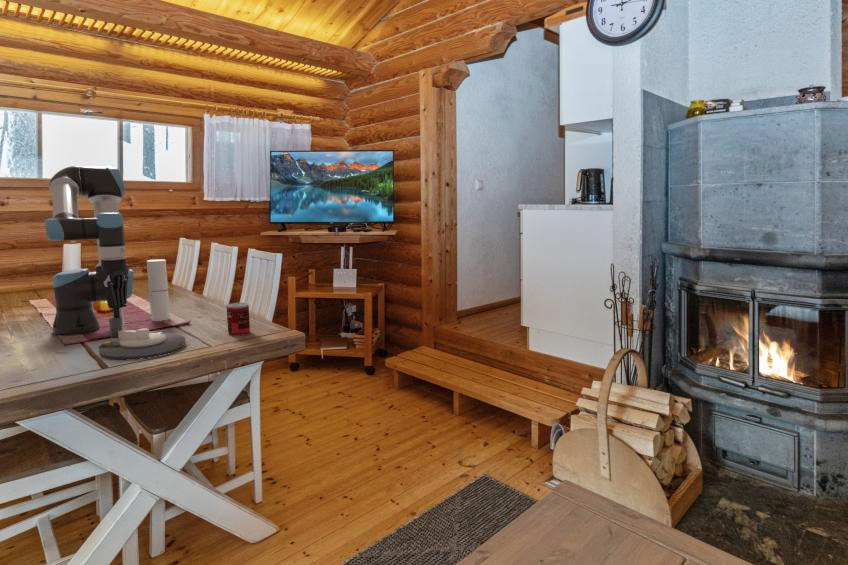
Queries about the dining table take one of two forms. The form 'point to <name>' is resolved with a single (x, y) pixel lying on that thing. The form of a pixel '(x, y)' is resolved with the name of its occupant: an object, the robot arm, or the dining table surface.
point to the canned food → (238, 318)
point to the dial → (134, 335)
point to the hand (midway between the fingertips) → (119, 326)
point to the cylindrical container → (158, 289)
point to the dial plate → (141, 348)
